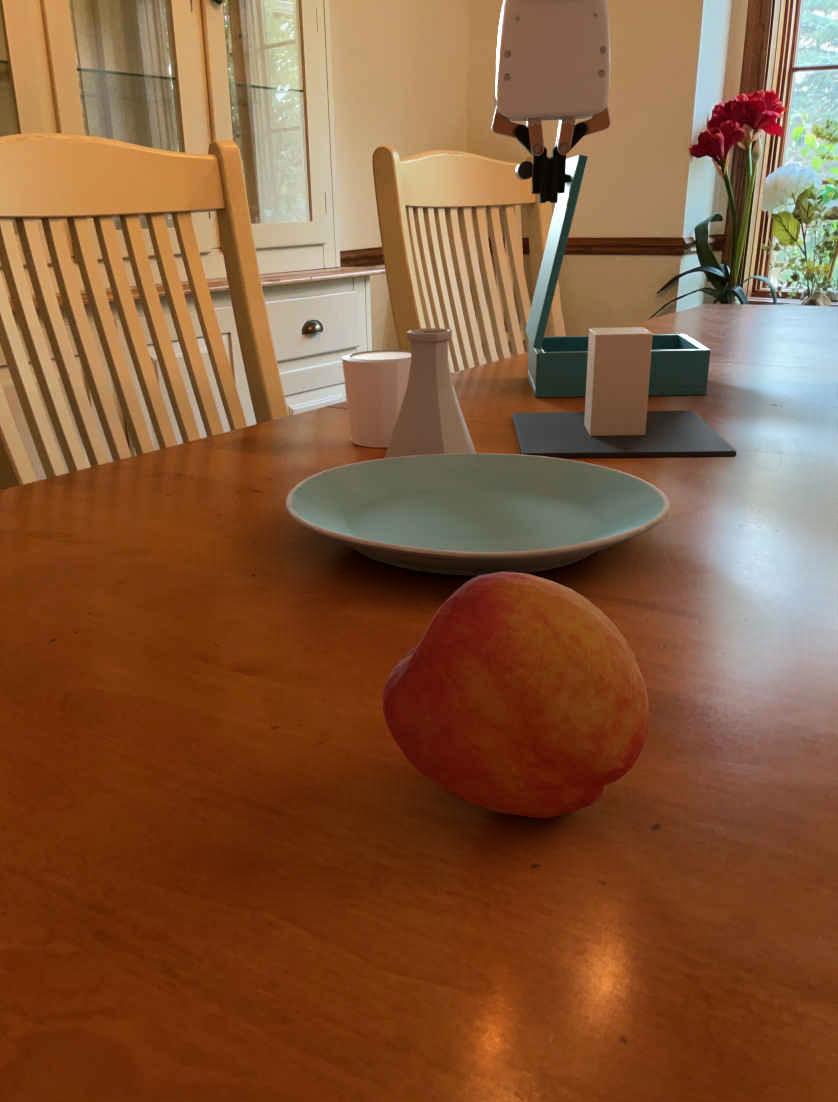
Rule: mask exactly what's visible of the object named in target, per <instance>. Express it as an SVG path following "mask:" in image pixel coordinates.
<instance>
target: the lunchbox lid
mask: <svg viewBox="0 0 838 1102" xmlns="http://www.w3.org/2000/svg"><path fill="white" fill-rule="evenodd" d="M588 158H589V157H588V156H587V155H582V154H578V155H575V156H571V157H568V158H566V174H565V192H564V193H558V200H557V203H554V209H553V213H552V216H551V217H552V218H551V222H550V226H549V230H548V234H547V238H546V243H545V246H544V251H543V256H542V260H541V264H540V268H539V272H538V276H537V280H536V284H535V287H534V288H535V289H534V293H533V296H532V302H531V305H530V310H529V313H528V318H527V323H526V326H525V331H524V332H525V334H526V336H527V338H528V341H529V340H530V342H531V344H532V346H533V348H537V349H541V346H542V342H543V338H544V337H545V334H546V330H547V326H548V322H549V317H550V313H551V309H552V306H553V305H552V304H553V301H554V297H555V292H556V289H557V285H558V280H559V276H560V273H561V269H562V265H563V260H564V256H565V252H566V248H567V244H568V241H569V240H568V239H569V237H570V236H569V235H570V232H571V227H572V224H573V219H574V215H575V212H576V207H577V203H578V199H579V195H580V191H581V187H582V182H583V178H584V174H585V170H586V166H587V163H588ZM514 171H515V172H514V173H515V174H514V175H515V177H516V178H517V179H518V180H521V181H524V180H525V181H526V180H529V179H532V161H529V160H524V161H522V162H520V163H518V164H517V165H516V166H515V170H514Z"/></svg>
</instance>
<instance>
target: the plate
mask: <svg viewBox="0 0 838 1102" xmlns="http://www.w3.org/2000/svg"><path fill="white" fill-rule="evenodd" d="M284 504H285V510H286V513H287V514H288V515H289V517H290V518H291V519H292V520H293V521H294V522H296V523H297V524H299V526H301V527H302V528H304V529H306V530H309V531H310V532H312V533H315V534H318V535H320V536H322V537H325V538H327V539H329V540H331V541H334V542H336V543H338V544H340V545H342V546H344V547H347V548H350V549H352V550H355V551H357V552H358V553H360V554H362V555H364V556H365V557H367V558H369V559H372V560H375V561H377V562H381V563H383V564H387V565H390V566H394V567H398V568H403V569H407V570H411V571H412V570H413V571H418V572H425V573H431V574H440V575H441V574H442V575H443V574H444V575H451V576H475V577H477V576H479V575H485V574H491V573H497V572H514V573H524V574H530V573H536V572H537V573H538V572H544V571H549V570H552V569H557V568H561V567H564V566H568V565H572V564H573V563H576V562H579V561H581V560H583V559H586V558H588V557H589V556H590V555H593V554H594V553H597V552H600V551H603V550H606V549H607V548H611V547H612V546H615V545H618V544H619V543H621V542H623V541H627V540H630V539H633V538H635V537H638V536H640V535H642V534H644V533H646V532H649V531H650V530H652V529H654V528H655V527H657V526H658V525H660V524H661V523H662V522H663V521H664V520H665V519H666V517H668V514H669V513H670V511H671V509H670V508H671V503H670V500H669V499H668V497H667V495H666V494H665V493H664V492H663V491H662V490H661V489H660V488H658V487H657V486H655V485H654V484H652V483H651V482H648V481H646V480H645V479H642V478H640V477H638V476H635V475H633V474H630V473H628V472H624V471H622V470H618V469H615V468H611V467H607V466H603V465H600V464H594V463H589V462H585V461H579V460H573V459H569V458H553V457H545V456H534V455H522V454H521V453H520V454H518V453H495V452H494V453H491V452H490V453H488V452H485V453H484V452H480V453H479V452H476V453H455V454H429V455H413V456H402V457H392V458H385V457H384V458H383V457H382V458H377V459H376V458H375V459H369V460H364V461H357V462H353V463H348V464H344V465H339V466H336V467H332V468H329V469H325V470H323V471H319V472H317V473H315V474H313V475H310V476H308V477H306V478H305V479H303V480H302V481H300V482H299V483H297V484H296V485H294V487H293V488H292V489H291V490H290V491H289V493H288V494H287V496H286V498H285V503H284Z"/></svg>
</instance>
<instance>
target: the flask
mask: <svg viewBox="0 0 838 1102" xmlns="http://www.w3.org/2000/svg"><path fill="white" fill-rule="evenodd" d="M452 336H453V329H450V328H439V327H431V328H430V327H429V328H427V327H426V328H425V327H423V328H415V329H409V330H408V331H407V332H406V339H407V341H408V342H410V351H411V365H410V372H409V378H408V384H407V389H406V392H405V396H404V399H403V402H402V406H401V409H400V412H399V416H398V419H397V422H396V425H395V428H394V431H393V434H392V437H391V440H390V443H389V446H388V447H387V449H386V452H385V455H384V458H392V457H402V456H413V455H429V454H455V453H477V451H476V448H475V445H474V442H473V439H472V437H471V435H470V432H469V429H468V425H467V424H466V420H465V419H464V415H463V412H462V408H461V406H460V403H459V400H458V396H457V393H456V390H455V387H454V385H453V384H454V383H453V379H452V372H451V367H450V361H449V340H450V339H451V338H452Z"/></svg>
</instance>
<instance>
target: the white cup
mask: <svg viewBox="0 0 838 1102" xmlns="http://www.w3.org/2000/svg"><path fill="white" fill-rule="evenodd" d="M341 360H342V370H343V378H344V386H345V392H346V393H345V394H346V402H347V410H348V418H349V426H350V433H351V441H352V443H353V444H354V445H357V446H360V447H367V448H379V449H380V448H381V449H382V448H388V446H389V443H390V440H391V437H392V434H393V431H394V428H395V425H396V422H397V419H398V416H399V412H400V409H401V406H402V402H403V399H404V396H405V392H406V389H407V384H408V378H409V372H410V365H411V350H406V349H405V350H404V349H376V350H375V349H374V350H364V351H359V352H354V353H349V354H345V355H342V356H341Z"/></svg>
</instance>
